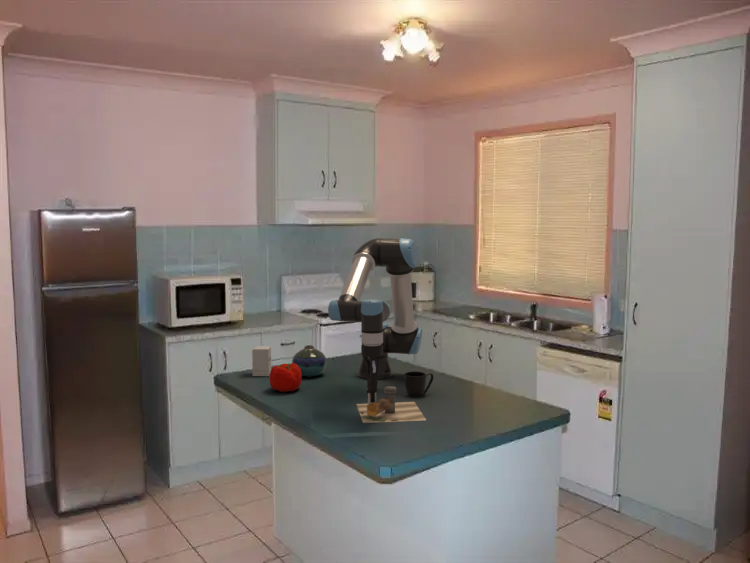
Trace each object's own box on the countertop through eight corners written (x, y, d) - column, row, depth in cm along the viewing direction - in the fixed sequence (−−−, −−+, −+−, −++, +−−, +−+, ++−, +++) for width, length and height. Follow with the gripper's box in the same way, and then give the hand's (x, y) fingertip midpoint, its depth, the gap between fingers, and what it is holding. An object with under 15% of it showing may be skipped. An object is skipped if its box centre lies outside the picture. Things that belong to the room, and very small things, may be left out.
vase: (297, 370, 295) (296, 342, 294) (329, 371, 293) (329, 343, 291) (288, 379, 280) (287, 349, 278) (322, 380, 278) (322, 350, 276)
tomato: (281, 396, 253) (280, 370, 252) (263, 389, 263) (263, 364, 262) (309, 390, 262) (309, 365, 261) (291, 384, 272) (291, 359, 271)
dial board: (356, 407, 239) (356, 403, 239) (414, 404, 242) (414, 401, 242) (362, 426, 217) (362, 422, 217) (426, 423, 220) (426, 419, 220)
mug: (438, 398, 251) (438, 374, 250) (410, 401, 246) (410, 377, 245) (428, 392, 258) (428, 369, 257) (401, 396, 254) (401, 372, 253)
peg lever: (387, 408, 232) (387, 385, 232) (398, 410, 230) (398, 387, 229) (364, 419, 220) (364, 395, 219) (375, 421, 217) (375, 397, 216)
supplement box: (268, 377, 283) (268, 349, 282) (252, 377, 283) (251, 349, 282) (271, 373, 290) (271, 345, 289) (255, 373, 290) (254, 345, 289)
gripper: (359, 340, 228) (359, 405, 231) (363, 348, 216) (363, 416, 218) (380, 340, 229) (380, 404, 232) (385, 347, 217) (385, 415, 219)
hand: (372, 410), depth 225 cm, fingers closed
